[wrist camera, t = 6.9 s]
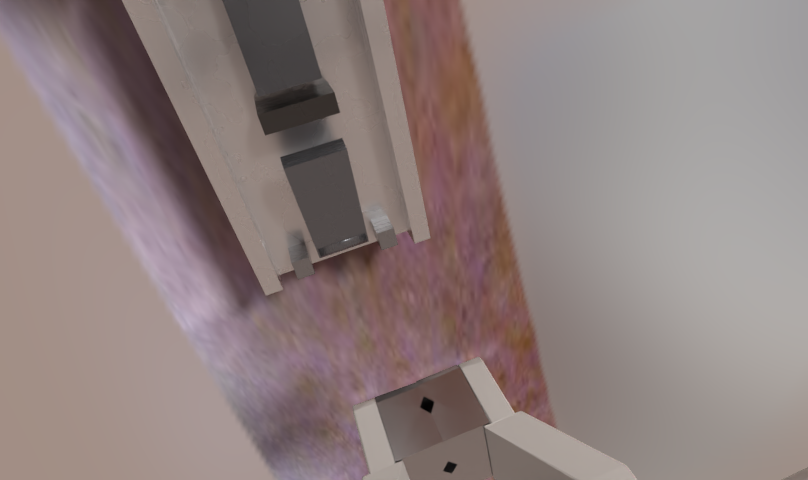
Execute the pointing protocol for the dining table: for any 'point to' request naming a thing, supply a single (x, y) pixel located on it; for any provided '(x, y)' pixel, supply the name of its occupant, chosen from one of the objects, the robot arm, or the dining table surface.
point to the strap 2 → (327, 196)
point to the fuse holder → (288, 123)
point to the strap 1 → (273, 43)
